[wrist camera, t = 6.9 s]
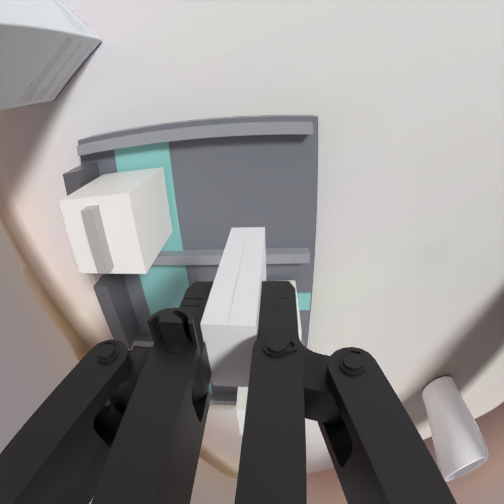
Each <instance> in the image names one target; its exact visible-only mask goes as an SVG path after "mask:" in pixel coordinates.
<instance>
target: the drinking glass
mask: <svg viewBox="0 0 504 504" xmlns="http://www.w3.org/2000/svg"><path fill="white" fill-rule="evenodd" d="M422 399H423V402H424V404H425V408H426V412H427V416H428V420H429V424H430V429H431V433H432V438H433V443H434V448H435V453H436V458H437V462H438V466H439V469H440V472H441V474H442V476H443V478H444V480H445V481H451V480H454V479H457V478H459V477H461V476H463V475H465V474H467V473H469V472H471V471H473V470H474V469H476V468H477V467H479V466H481V465H482V464H483V463H485V461H487V460H488V458H489V454H488V451H487V447H486V444H485V441H484V438H483V436H482V434H481V431H480V429H479V427H478V425H477V423H476V421H475V420H474V418H473V416H472V414H471V412H470V410H469V409H468V407H467V405H466V403H465V401H464V400H463V398H462V396H461V394H460V392H459V391H458V389H457V387H456V385H455V383H454V381H453V379H452V378H451V377H449V376H443V377H440V378H437V379H435V380H433V381H432V382H430V383H429V384H428V385H427V386H426V387H425V388H424V390H423V392H422Z"/></svg>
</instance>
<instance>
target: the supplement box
mask: <svg viewBox="0 0 504 504" xmlns="http://www.w3.org/2000/svg"><path fill="white" fill-rule="evenodd" d="M101 41H102V39H101V38H100V37H99V36H98V35H97V34H96V32H95V31H94V30H93V29H92V28H91V27H90V26H89V25H88V24H87V23H86V22H85V21H84V20H83V19H82V18H81V17H80V16H79V15H78V14H77V13H76V11H75V10H74V9H73V8H72V7H71V6H70V5H69V4H68V3H67V2H66V1H64V0H0V111H2V110H7V109H11V108H16V107H21V106H26V105H31V104H37V103H43V102H49V101H54V99H55V98H56V97H57V95H58V94H59V92H60V91H61V90H62V88H63V87H64V86H65V84H66V83H67V82H68V80H69V79H70V78H71V77H72V75H73V74H74V73H75V72H76V70H77V69H78V68H79V67H80V65H81V64H82V63H83V62H84V61H85V59H86V58H87V57H88V56H89V55H90V54H91V52H92V51H93V50H94V49H95V48H96V47H97V46H98V45H99V44H100V42H101Z"/></svg>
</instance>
